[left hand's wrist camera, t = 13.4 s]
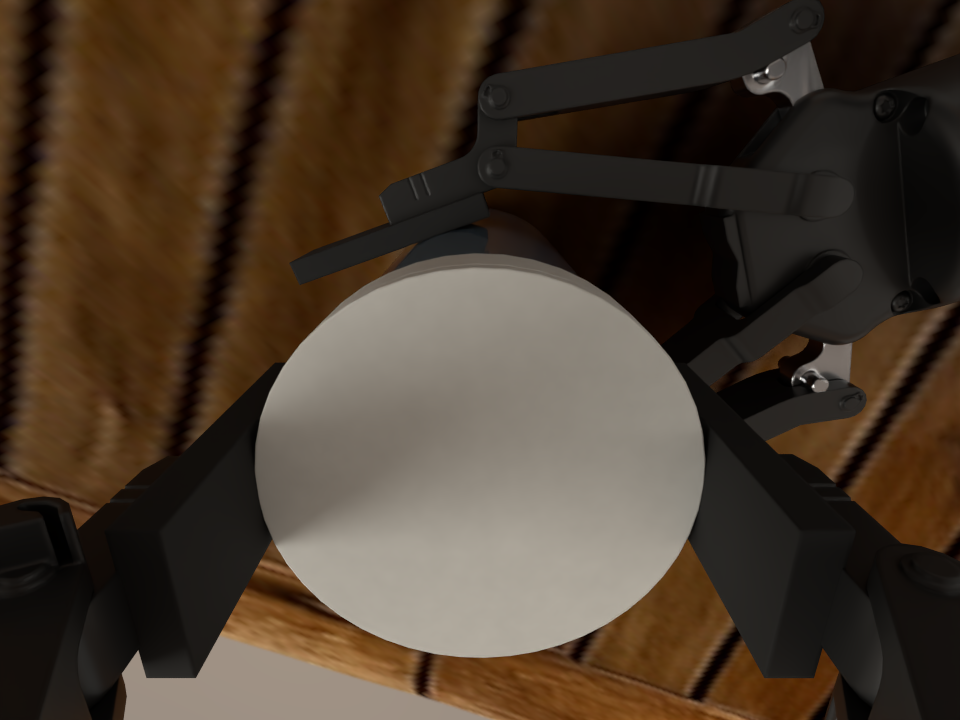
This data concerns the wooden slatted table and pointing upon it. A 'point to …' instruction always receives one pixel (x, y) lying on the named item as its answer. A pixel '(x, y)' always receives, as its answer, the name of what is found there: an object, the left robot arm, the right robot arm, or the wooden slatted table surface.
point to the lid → (479, 457)
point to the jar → (486, 242)
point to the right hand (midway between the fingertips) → (359, 378)
